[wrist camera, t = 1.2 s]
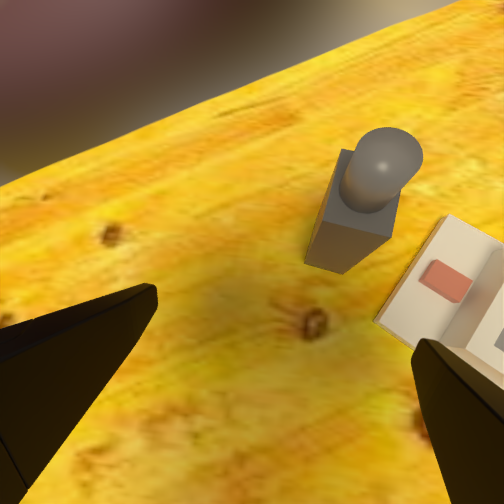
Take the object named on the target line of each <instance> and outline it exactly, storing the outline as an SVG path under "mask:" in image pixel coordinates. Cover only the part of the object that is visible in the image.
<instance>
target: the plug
mask: <svg viewBox="0 0 504 504" xmlns="http://www.w3.org/2000/svg"><path fill="white" fill-rule="evenodd" d="M422 162H423V152H422V148H421V146H420V144H419V143H418V141H417V140H416V139H415V138H414V137H413V136H412V135H410V134H409V133H407V132H405V131H403V130H400V129H397V128H391V127H384V128H378V129H375V130H372V131H370V132H368V133H367V134H365V135H364V136H363V137H362V138H361V139H360V141H359V142H358V144H357V146H356V149H355V151H351V150H346V149H341V152H340V155H339V158H338V160H337V163H336V166H335V169H334V171H333V174H332V177H331V180H330V183H329V185H328V188H327V191H326V194H325V197H324V199H323V202H322V205H321V208H320V210H319V213H318V216H317V219H316V222H315V226H314V230H313V233H312V237H311V240H310V244H309V247H308V251H307V255H306V258H305V262H304V264H307V265H311V266H315V267H318V268H322V269H325V270H329V271H332V272H336V273H339V274H344V273H345V272H347V271H348V270H349V269H351V268H352V267H353V266H355V265H356V264H357V263H358V262H360V261H361V260H362V259H364V258H365V257H366V256H368V255H369V254H370V253H372V252H373V251H374V250H376V249H377V248H378V247H380V246H381V245H382V244H384V243H385V242H386V241H388V240H389V239H390V238H391V237H392V232H393V227H394V222H395V217H396V212H397V207H398V202H399V197H400V192H401V189H402V188H403V187H404V186H405V185H406V183H407V182H408V181H409V180H410V179H411V178H412V177H413V176H414V175H415V174H416V173H417V171H418V170H419V169H420V167H421V165H422Z"/></svg>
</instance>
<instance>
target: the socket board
mask: <svg viewBox="0 0 504 504" xmlns="http://www.w3.org/2000/svg"><path fill="white" fill-rule="evenodd" d="M373 322H374V323H376V324H377V325H379V326H380V327H381V328H383V329H384V330H386V331H387V332H388V333H390V334H391V335H393V336H394V337H396V338H397V339H398V340H400V341H401V342H403V343H404V344H405V345H407V346H408V347H410V348H411V349H412V350H414V351H415V348H416V346H417V344H418V342H419V340H420V339H421V338H428V339H433V340H437V341H438V342H440V343H441V344H443V345H444V346H445V347H447V348H448V349H449V350H451V351H452V352H453V353H455V354H456V355H457V356H459V357H460V358H461V359H463V360H464V361H465V362H467V363H468V364H469V365H471V366H472V367H473V368H475V369H476V370H477V371H479V372H480V373H481V374H483V375H484V376H486V377H487V378H488V379H490V380H491V381H492V382H494V383H495V384H496V385H498V386H499V387H500V388H502V389H503V390H504V243H502V242H500V241H498V240H496V239H494V238H493V237H491V236H489V235H487V234H485V233H484V232H482V231H480V230H478V229H476V228H474V227H473V226H471V225H469V224H467V223H465V222H464V221H462V220H460V219H458V218H456V217H454V216H453V215H451V214H448V215H446V216H445V217H443V218H442V219H440V221H439V222H438V224H437V225H436V227H435V228H434V230H433V231H432V233H431V235H430V236H429V238H428V239H427V241H426V242H425V244H424V245H423V247H422V248H421V250H420V251H419V253H418V254H417V256H416V257H415V259H414V260H413V262H412V263H411V265H410V266H409V268H408V269H407V271H406V272H405V274H404V275H403V277H402V278H401V280H400V281H399V283H398V284H397V286H396V287H395V289H394V291H393V292H392V294H391V295H390V297H389V298H388V300H387V301H386V303H385V304H384V306H383V307H382V309H381V310H380V312H379V313H378V315H377V316H376V318H375V319H374V321H373Z"/></svg>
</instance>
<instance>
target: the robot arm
mask: <svg viewBox="0 0 504 504" xmlns="http://www.w3.org/2000/svg"><path fill="white" fill-rule="evenodd" d="M157 307H158V297H157V288H156V286H155V285H153V284H148V283H143V284H139V285H136V286H133V287H130V288H127V289H124V290H121V291H118V292H115V293H111V294H108V295H105V296H102V297H99V298H96V299H93V300H90V301H86V302H83V303H80V304H77V305H74V306H71V307H68V308H65V309H61V310H58V311H55V312H52V313H49V314H46V315H43V316H40V317H37V318H35V319H34V320H33V319H30V320H27V321H24V322H21V323H18V324H14V325H11V326H8V327H5V328H1V329H0V504H19V503H20V501H21V500H22V499H23V497H24V496H25V494H26V493H27V492H28V489H29V488H30V487H31V486H32V485H33V483H34V482H35V481H36V479H37V478H38V477H39V475H40V474H41V472H42V471H43V470H44V468H45V467H46V466H47V464H48V463H49V462H50V460H51V459H52V458H53V456H54V455H55V453H56V452H57V451H58V449H59V448H60V447H61V445H62V444H63V443H64V441H65V440H66V439H67V437H68V436H69V435H70V433H71V432H72V430H73V429H74V428H75V426H76V425H77V424H78V422H79V421H80V420H81V418H82V417H83V416H84V414H85V413H86V411H87V410H88V409H89V407H90V406H91V405H92V403H93V402H94V401H95V399H96V398H97V397H98V395H99V394H100V393H101V391H102V390H103V388H104V387H105V386H106V384H107V383H108V382H109V380H110V379H111V378H112V376H113V375H114V374H115V372H116V371H117V370H118V368H119V367H120V365H121V364H122V363H123V361H124V360H125V359H126V357H127V356H128V355H129V353H130V352H131V351H132V349H133V348H134V346H135V345H136V343H137V342H138V340H139V339H140V337H141V335H142V334H143V332H144V330H145V328H146V327H147V325H148V323H149V322H150V320H151V318H152V317H153V315H154V313H155V312H156V310H157ZM411 366H412V371H413V376H414V380H415V385H416V390H417V394H418V399H419V404H420V408H421V412H422V416H423V419H424V422H425V425H426V428H427V431H428V434H429V437H430V440H431V443H432V446H433V450H434V453H435V456H436V459H437V462H438V465H439V468H440V471H441V474H442V477H443V480H444V483H445V486H446V489H447V492H448V495H449V498H450V501H451V504H504V390H503V389H502V388H500V387H499V386H498V385H496V384H495V383H494V382H492V381H491V380H490V379H488V378H487V377H486V376H484V375H483V374H481V373H480V372H479V371H477V370H476V369H475V368H473V367H472V366H471V365H469V364H468V363H467V362H465V361H464V360H463V359H461V358H460V357H459V356H457V355H456V354H455V353H453V352H452V351H451V350H449V349H448V348H447V347H445V346H444V345H443V344H441V343H440V342H438V341H437V340H433V339H428V338H421V339H420V340H419V342H418V344H417V346H416V348H415V351H414V353H413V355H412V358H411Z"/></svg>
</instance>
